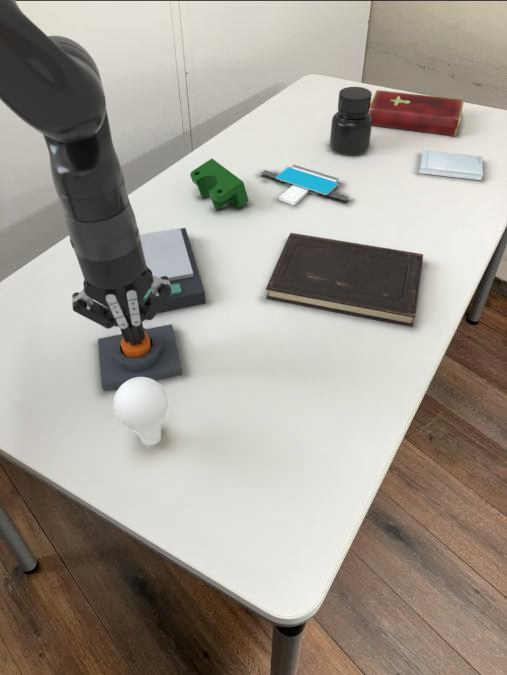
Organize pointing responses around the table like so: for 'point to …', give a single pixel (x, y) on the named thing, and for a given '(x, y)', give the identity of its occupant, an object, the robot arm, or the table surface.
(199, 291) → the scale
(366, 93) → the ink bottle
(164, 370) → the control unit
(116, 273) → the robot arm
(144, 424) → the lightbulb
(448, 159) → the hard drive
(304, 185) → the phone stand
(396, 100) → the hardcover book
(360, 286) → the hardcover book
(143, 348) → the button
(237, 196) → the clamp
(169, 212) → the table surface
